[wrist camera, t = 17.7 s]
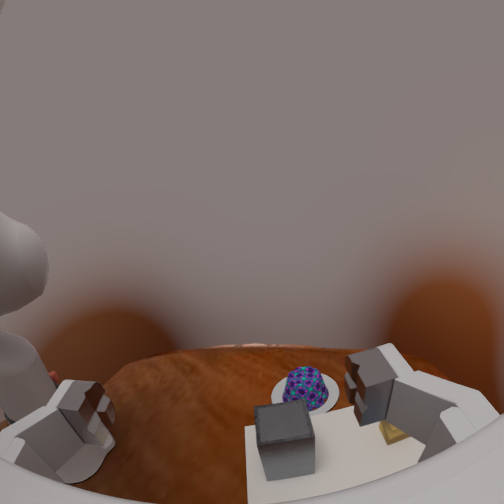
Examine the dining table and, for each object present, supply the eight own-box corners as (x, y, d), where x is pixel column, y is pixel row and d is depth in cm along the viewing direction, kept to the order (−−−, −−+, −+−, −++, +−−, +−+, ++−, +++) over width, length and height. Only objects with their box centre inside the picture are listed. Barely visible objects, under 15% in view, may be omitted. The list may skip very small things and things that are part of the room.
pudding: (337, 421, 38) (338, 401, 37) (265, 419, 42) (261, 399, 40) (339, 374, 49) (340, 353, 48) (278, 374, 53) (275, 354, 51)
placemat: (249, 513, 24) (248, 511, 24) (245, 429, 40) (244, 426, 39) (447, 456, 24) (449, 453, 24) (406, 392, 40) (407, 388, 39)
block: (411, 436, 30) (417, 420, 29) (387, 445, 30) (392, 430, 29) (401, 418, 34) (406, 402, 32) (378, 427, 34) (382, 411, 32)
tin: (314, 473, 29) (315, 436, 26) (267, 481, 29) (256, 445, 26) (307, 440, 35) (304, 398, 32) (263, 447, 35) (253, 406, 32)
